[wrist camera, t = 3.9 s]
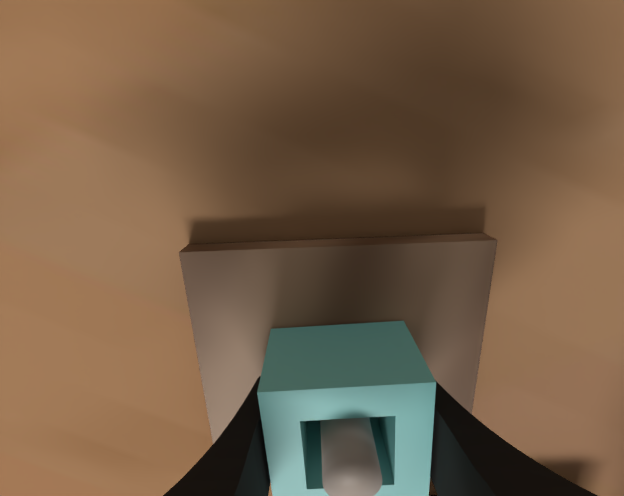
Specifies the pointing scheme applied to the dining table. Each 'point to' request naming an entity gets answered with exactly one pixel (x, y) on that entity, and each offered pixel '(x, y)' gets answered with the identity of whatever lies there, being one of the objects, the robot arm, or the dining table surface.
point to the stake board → (337, 319)
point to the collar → (346, 403)
